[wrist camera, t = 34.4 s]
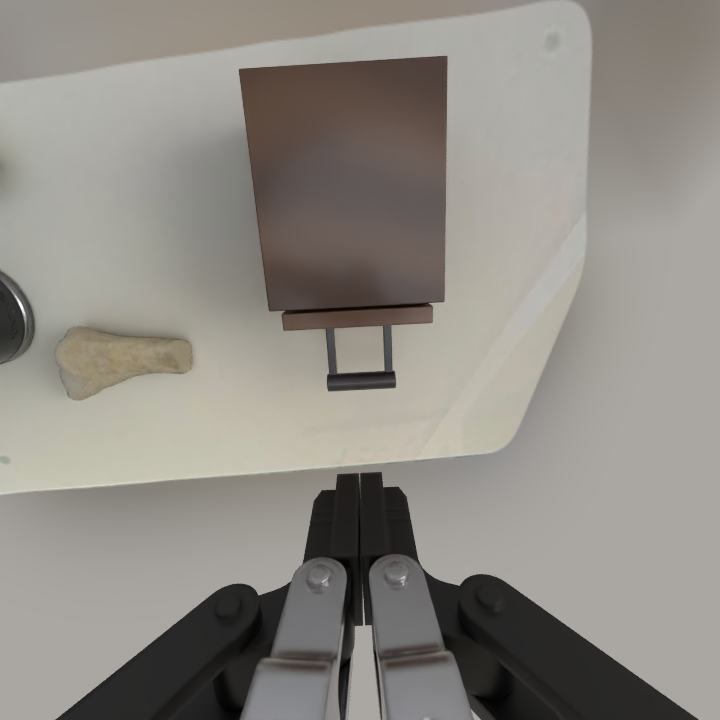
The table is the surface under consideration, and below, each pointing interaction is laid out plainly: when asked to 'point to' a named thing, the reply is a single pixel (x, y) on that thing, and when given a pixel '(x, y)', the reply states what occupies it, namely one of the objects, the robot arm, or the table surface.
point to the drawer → (358, 318)
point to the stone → (114, 359)
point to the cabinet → (349, 181)
